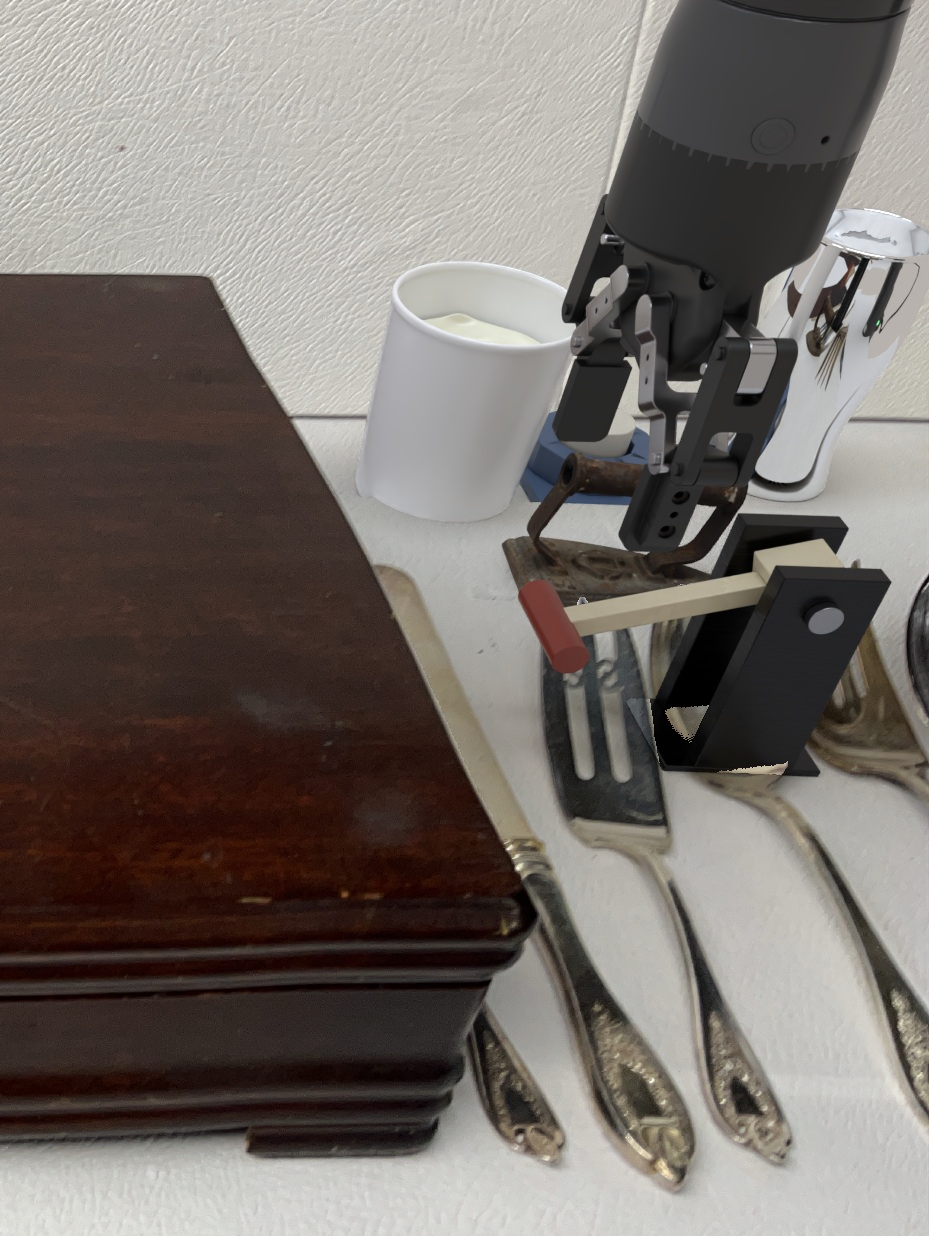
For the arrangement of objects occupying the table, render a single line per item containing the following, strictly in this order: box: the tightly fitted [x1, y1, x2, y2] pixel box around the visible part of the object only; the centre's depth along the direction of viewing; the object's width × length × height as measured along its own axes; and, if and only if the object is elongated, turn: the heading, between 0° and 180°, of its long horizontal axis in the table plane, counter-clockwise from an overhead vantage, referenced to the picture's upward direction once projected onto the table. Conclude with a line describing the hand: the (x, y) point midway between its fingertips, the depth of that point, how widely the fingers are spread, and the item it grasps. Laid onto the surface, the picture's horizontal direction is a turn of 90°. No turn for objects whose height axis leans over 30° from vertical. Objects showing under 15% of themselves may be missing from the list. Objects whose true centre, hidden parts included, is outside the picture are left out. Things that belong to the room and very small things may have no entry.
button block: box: [519, 410, 649, 506], centre depth 102 cm, size 10×8×2 cm
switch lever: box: [517, 539, 846, 675], centre depth 78 cm, size 12×5×2 cm, turn 87°
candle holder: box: [354, 260, 576, 524], centre depth 97 cm, size 10×10×12 cm
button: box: [560, 407, 637, 458], centre depth 101 cm, size 4×4×2 cm
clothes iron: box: [501, 452, 749, 608], centre depth 91 cm, size 7×11×10 cm, turn 84°
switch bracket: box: [649, 512, 893, 778], centre depth 80 cm, size 7×6×12 cm
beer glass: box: [728, 204, 929, 503], centre depth 98 cm, size 7×7×15 cm
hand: (609, 489), depth 75 cm, fingers open, 8 cm apart
